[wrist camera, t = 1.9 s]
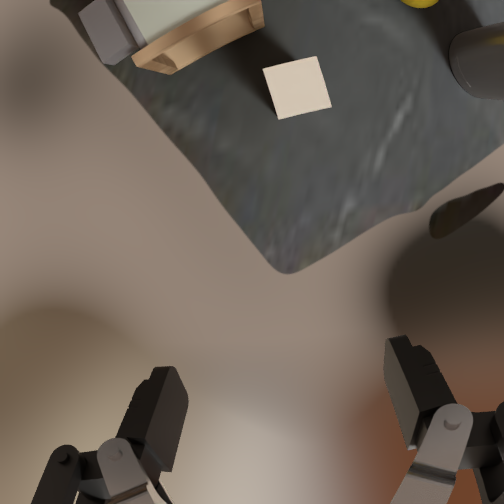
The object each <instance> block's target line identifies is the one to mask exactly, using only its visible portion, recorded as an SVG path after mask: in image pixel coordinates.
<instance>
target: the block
mask: <svg viewBox="0 0 504 504" xmlns="http://www.w3.org/2000/svg"><path fill="white" fill-rule="evenodd" d="M263 72H264V75H265V78H266V81H267V84H268V88H269V91H270V94H271V97H272V100H273V104H274V107H275V110H276V113H277V117H278V119H283V118H287V117H291V116H295V115H299V114H303V113H307V112H312V111H316V110H320V109H325V108H329V107H332V106H331V103H330V99H329V96H328V92H327V89H326V85H325V82H324V79H323V76H322V72H321V69H320V66H319V63H318V60H317V57H316V56H315V57H310V58H306V59H301V60H296V61H292V62H288V63H284V64H280V65H276V66H272V67H268V68H264V69H263Z"/></svg>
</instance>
